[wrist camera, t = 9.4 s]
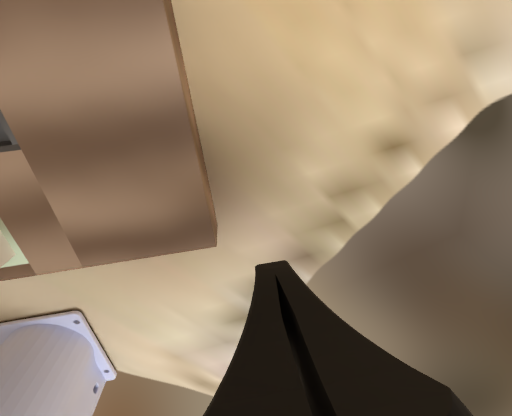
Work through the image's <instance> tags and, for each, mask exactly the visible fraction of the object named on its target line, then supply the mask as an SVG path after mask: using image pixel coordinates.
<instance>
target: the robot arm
mask: <svg viewBox="0 0 512 416" xmlns="http://www.w3.org/2000/svg"><path fill="white" fill-rule="evenodd" d="M255 272H256V273H255V285H254V291H253V296H252V301H251V306H250V309H249V313H248V317H247V320H246V323H245V327H244V330H243V333H242V335H241V338H240V341H239V343H238V346H237V348H236V351H235V353H234V356H233V358H232V360H231V363H230V365H229V367H228V369H227V371H226V374H225V376H224V377H223V379H222V381H221V383H220V385H219V387H218V389H217V391H216V393H215V395H214V397H213V399H212V401H211V403H210V405H209V406H208V408H207V410H206V412H205V413H204V415H203V416H473V415H472V414H471V412H470V411H469V410H468V409H467V408H466V406H465V405H464V404H463V403H462V402H461V401H460V399H459V398H458V397H457V396H456V395H455V394H454V393H453V392H452V391H451V389H450V388H449V387H447V386H445V385H443V384H441V383H440V382H438V381H436V380H434V379H432V378H430V377H428V376H427V375H425V374H423V373H421V372H419V371H417V370H416V369H414V368H412V367H410V366H408V365H407V364H405V363H404V362H402V361H400V360H399V359H397V358H395V357H394V356H392V355H391V354H389V353H387V352H386V351H385V350H383V349H382V348H380V347H379V346H377V345H376V344H374V343H373V342H371V341H370V340H368V339H367V338H366V337H364V336H363V335H361V334H360V333H359V332H357V331H356V330H355V329H353V328H352V327H351V326H349V325H348V324H347V323H346V322H344V321H343V320H342V319H341V318H340V317H339V316H337V315H336V314H335V313H334V312H333V311H332V310H331V309H329V308H328V307H327V306H326V305H325V304H324V303H323V302H322V301H321V300H320V299H319V298H318V297H317V296H316V295H315V294H314V293H313V292H312V291H311V290H310V289H309V288H308V286H307V285H306V284H305V283H304V282H303V281H302V280H301V279H300V277H299V276H298V275H297V274H296V273H295V271H294V270H293V269H292V267H291V266H290V265H289V263H288V262H287V261H285V260H284V261H277V262H271V263H265V264H259V265H257V266H256V267H255ZM116 375H117V373H116V371H115V369H114V368H113V366H112V364H111V363H110V361H109V359H108V357H107V356H106V354H105V352H104V351H103V349H102V347H101V345H100V344H99V342H98V340H97V339H96V337H95V335H94V333H93V332H92V330H91V328H90V327H89V325H88V323H87V321H86V320H85V318H84V316H83V315H82V313H81V312H79V311H70V312H64V313H58V314H52V315H46V316H40V317H34V318H28V319H23V320H17V321H11V322H5V323H0V416H92V415H93V412H94V410H95V408H96V405H97V402H98V400H99V398H100V395H101V392H102V390H103V387H104V385H105V382H106V381H109V380H114V379H115V378H116Z"/></svg>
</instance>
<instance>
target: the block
mask: <svg viewBox="0 0 512 416" xmlns="http://www.w3.org/2000/svg"><path fill="white" fill-rule="evenodd" d="M15 255H16V254H15V252H14V251H13V249H12V247H11V246H10V244H9V243H8V241H7V240H6V238H5V237H4V235H3V234H2V232H1V231H0V267H2V266H3V265H4V264H5V263H7V262H8V261H9V260H10V259H11V258H13V257H14V256H15Z"/></svg>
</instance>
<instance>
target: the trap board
mask: <svg viewBox="0 0 512 416" xmlns="http://www.w3.org/2000/svg"><path fill="white" fill-rule="evenodd" d="M0 231H1V232H2V234H3V235H4V237H5V238H6V240H7V241H8V243H9V244H10V246H11V247H12V249H13V251H14V252H15V254H16V255H15V256H14V257H13V258H11V259H10V260H9V261H8V262H7V263H5V264H4V265H3V266H2V267H0V281H4V280H10V279H17V278H23V277H29V276H35V275H42V274H48V273H54V272H60V271H67V270H73V269H79V268H85V267H92V266H98V265H104V264H110V263H117V262H123V261H129V260H135V259H142V258H148V257H154V256H160V255H167V254H173V253H179V252H185V251H192V250H198V249H204V248H210V247H217V221H216V216H215V211H214V206H213V202H212V197H211V192H210V187H209V182H208V177H207V173H206V168H205V163H204V158H203V153H202V148H201V144H200V139H199V134H198V129H197V124H196V120H195V115H194V110H193V105H192V100H191V95H190V91H189V86H188V81H187V76H186V71H185V66H184V62H183V57H182V52H181V47H180V42H179V38H178V33H177V28H176V23H175V18H174V13H173V9H172V4H171V0H0Z"/></svg>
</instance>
